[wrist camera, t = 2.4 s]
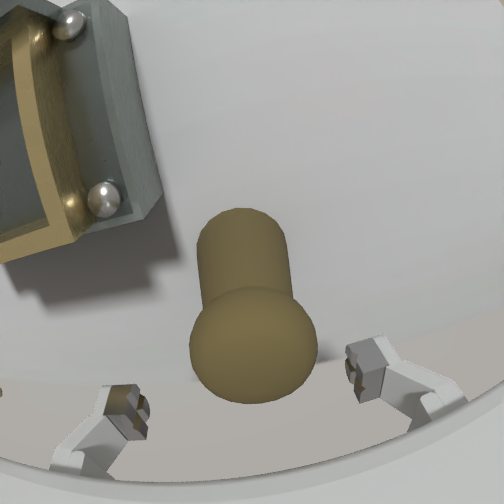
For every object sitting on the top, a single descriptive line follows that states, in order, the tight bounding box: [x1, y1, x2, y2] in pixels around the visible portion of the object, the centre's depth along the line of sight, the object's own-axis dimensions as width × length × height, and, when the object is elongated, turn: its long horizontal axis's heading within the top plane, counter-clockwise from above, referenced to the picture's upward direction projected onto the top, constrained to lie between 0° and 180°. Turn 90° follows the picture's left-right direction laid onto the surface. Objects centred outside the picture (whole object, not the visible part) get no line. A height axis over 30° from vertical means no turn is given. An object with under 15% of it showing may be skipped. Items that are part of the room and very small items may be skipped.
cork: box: [189, 208, 318, 404], centre depth 15 cm, size 6×6×11 cm
